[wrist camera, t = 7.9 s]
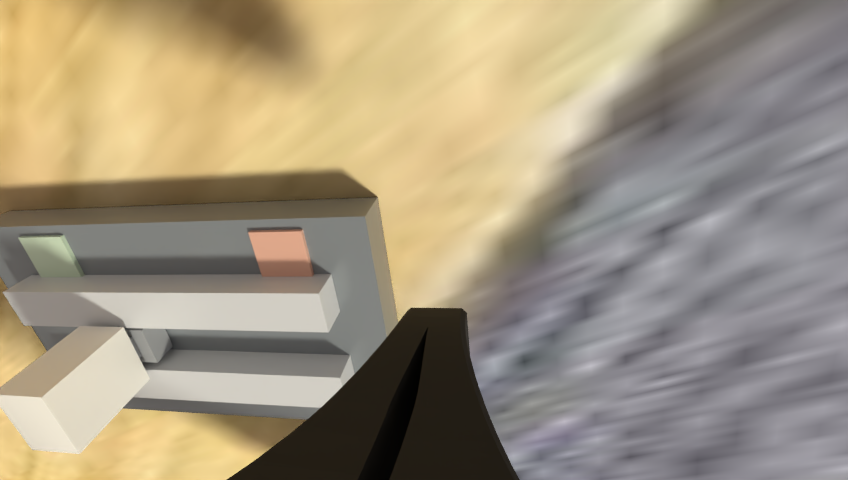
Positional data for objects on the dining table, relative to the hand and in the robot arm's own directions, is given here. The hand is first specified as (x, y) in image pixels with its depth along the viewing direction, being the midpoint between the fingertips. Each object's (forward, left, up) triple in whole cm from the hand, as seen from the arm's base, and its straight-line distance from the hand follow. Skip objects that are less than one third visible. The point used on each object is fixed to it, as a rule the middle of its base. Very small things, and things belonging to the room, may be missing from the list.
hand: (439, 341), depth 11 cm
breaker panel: (-6, +14, -9) cm, 18 cm away
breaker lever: (-6, +17, -7) cm, 19 cm away
